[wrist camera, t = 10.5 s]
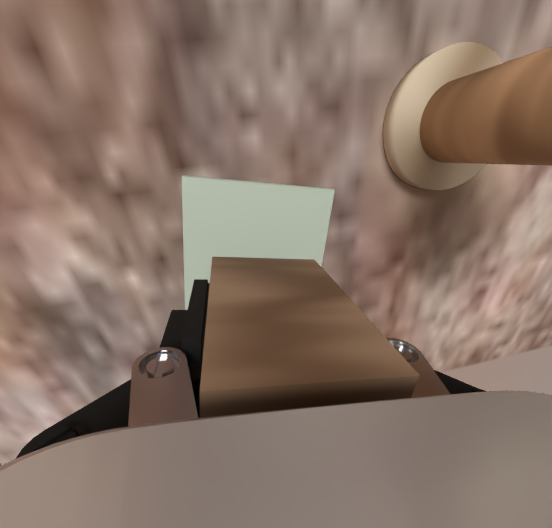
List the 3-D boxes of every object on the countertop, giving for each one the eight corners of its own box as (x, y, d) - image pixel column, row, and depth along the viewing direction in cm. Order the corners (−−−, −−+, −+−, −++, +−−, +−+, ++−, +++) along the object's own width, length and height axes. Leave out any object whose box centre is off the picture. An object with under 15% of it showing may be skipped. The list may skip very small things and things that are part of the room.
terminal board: (329, 188, 15) (334, 189, 15) (305, 333, 19) (308, 340, 18) (183, 175, 14) (181, 176, 13) (187, 336, 17) (186, 344, 16)
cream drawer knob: (514, 62, 15) (1151, -146, 5) (468, 192, 17) (818, 242, 7) (402, 36, 13) (972, -347, 3) (370, 183, 16) (632, 229, 6)
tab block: (314, 259, 12) (458, 417, 5) (301, 341, 14) (393, 554, 6) (212, 256, 11) (194, 448, 4) (210, 345, 13) (196, 600, 5)
